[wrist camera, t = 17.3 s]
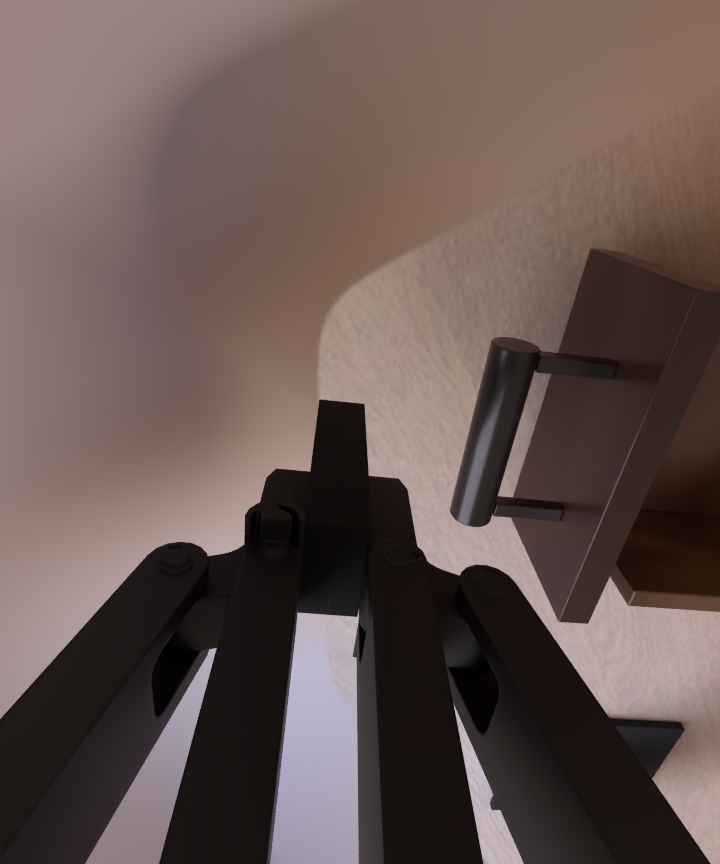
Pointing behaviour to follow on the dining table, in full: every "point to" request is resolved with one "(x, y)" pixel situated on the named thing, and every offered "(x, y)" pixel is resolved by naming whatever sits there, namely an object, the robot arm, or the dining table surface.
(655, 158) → the dining table surface
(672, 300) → the drawer
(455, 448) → the dining table surface
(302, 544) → the robot arm
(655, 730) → the desk mat
